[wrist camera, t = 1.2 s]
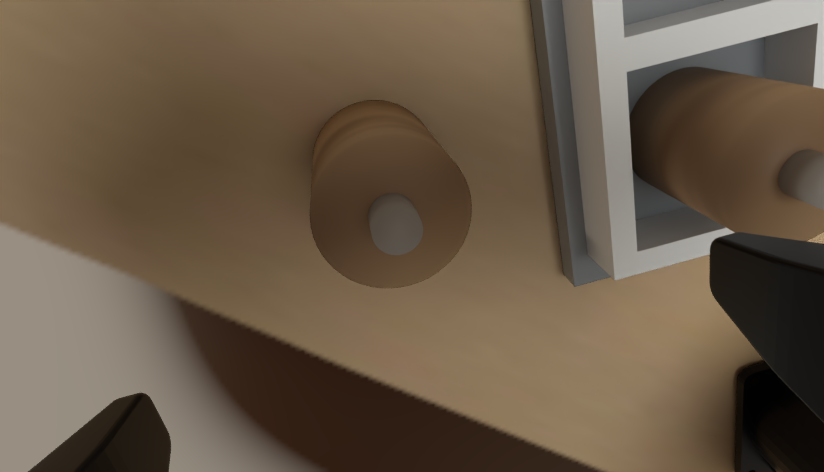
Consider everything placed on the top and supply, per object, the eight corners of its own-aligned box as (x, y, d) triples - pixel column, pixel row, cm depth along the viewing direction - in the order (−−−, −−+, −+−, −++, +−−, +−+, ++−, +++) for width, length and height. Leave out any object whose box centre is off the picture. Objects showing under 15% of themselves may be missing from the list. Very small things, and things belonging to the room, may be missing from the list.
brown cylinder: (445, 202, 19) (494, 283, 14) (332, 232, 19) (336, 325, 14) (420, 86, 18) (465, 125, 12) (296, 117, 17) (285, 171, 12)
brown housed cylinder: (738, 171, 19) (902, 239, 14) (628, 201, 19) (750, 282, 14) (741, 52, 18) (928, 77, 12) (620, 84, 17) (756, 122, 12)
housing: (773, 217, 21) (839, 248, 19) (563, 274, 21) (599, 315, 18) (801, -326, 15) (908, -399, 12) (498, -258, 15) (539, -318, 12)
